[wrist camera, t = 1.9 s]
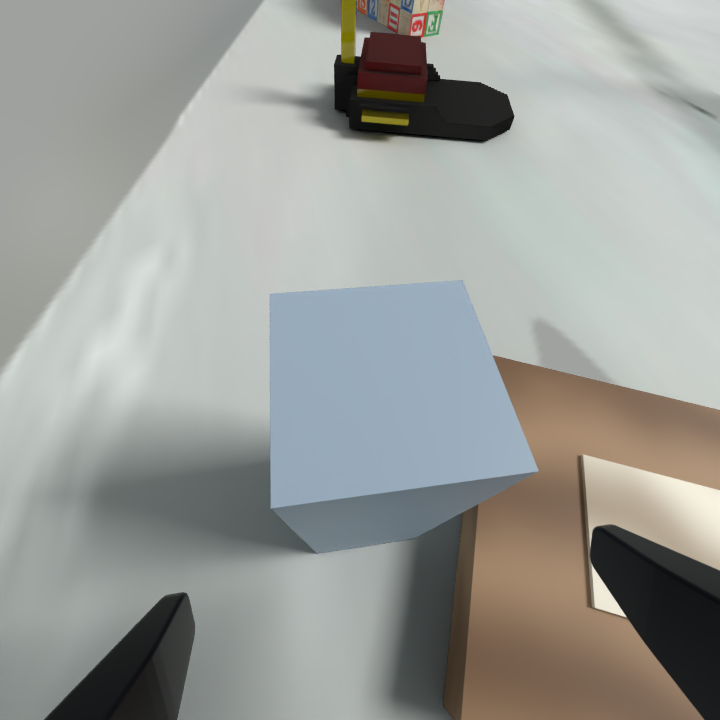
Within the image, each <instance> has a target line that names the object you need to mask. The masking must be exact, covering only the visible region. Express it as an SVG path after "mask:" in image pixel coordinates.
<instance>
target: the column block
mask: <svg viewBox="0 0 720 720" xmlns="http://www.w3.org/2000/svg"><path fill="white" fill-rule="evenodd" d="M537 472H539V470H538V468H537V465H536V463H535V460H534V458H533V455H532V453H531V450H530V448H529V445H528V443H527V440H526V438H525V435H524V433H523V430H522V428H521V425H520V423H519V420H518V418H517V415H516V413H515V410H514V408H513V405H512V403H511V400H510V398H509V395H508V393H507V390H506V388H505V385H504V383H503V380H502V378H501V375H500V373H499V370H498V368H497V365H496V363H495V360H494V358H493V355H492V353H491V350H490V348H489V345H488V343H487V340H486V338H485V335H484V333H483V330H482V328H481V325H480V323H479V320H478V318H477V315H476V313H475V310H474V308H473V305H472V303H471V300H470V298H469V295H468V293H467V290H466V288H465V285H464V283H463V280H458V281H444V282H430V283H416V284H402V285H388V286H374V287H360V288H346V289H332V290H318V291H304V292H290V293H276V294H270V479H271V509H272V510H273V511H274V512H275V513H276V514H277V515H278V516H279V517H280V518H281V519H282V520H283V521H284V522H285V523H286V524H287V525H288V526H289V527H290V528H291V529H292V530H293V531H294V532H295V533H296V534H297V535H298V536H299V537H300V538H302V539H303V540H304V541H305V542H306V543H307V544H308V545H309V546H310V547H311V548H312V549H313V550H314V551H315V552H316V553H317V554H319V553H325V552H332V551H338V550H344V549H351V548H357V547H364V546H370V545H377V544H383V543H390V542H396V541H403V540H409V539H414V538H416V537H418V536H420V535H422V534H424V533H425V532H427V531H429V530H431V529H433V528H435V527H437V526H438V525H440V524H442V523H444V522H446V521H448V520H450V519H451V518H453V517H455V516H457V515H459V514H461V513H463V512H464V511H466V510H468V509H470V508H472V507H474V506H476V505H477V504H479V503H481V502H483V501H485V500H487V499H489V498H490V497H492V496H494V495H496V494H498V493H500V492H501V491H503V490H505V489H507V488H509V487H511V486H513V485H514V484H516V483H518V482H520V481H522V480H524V479H526V478H527V477H529V476H531V475H533V474H535V473H537Z"/></svg>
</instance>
